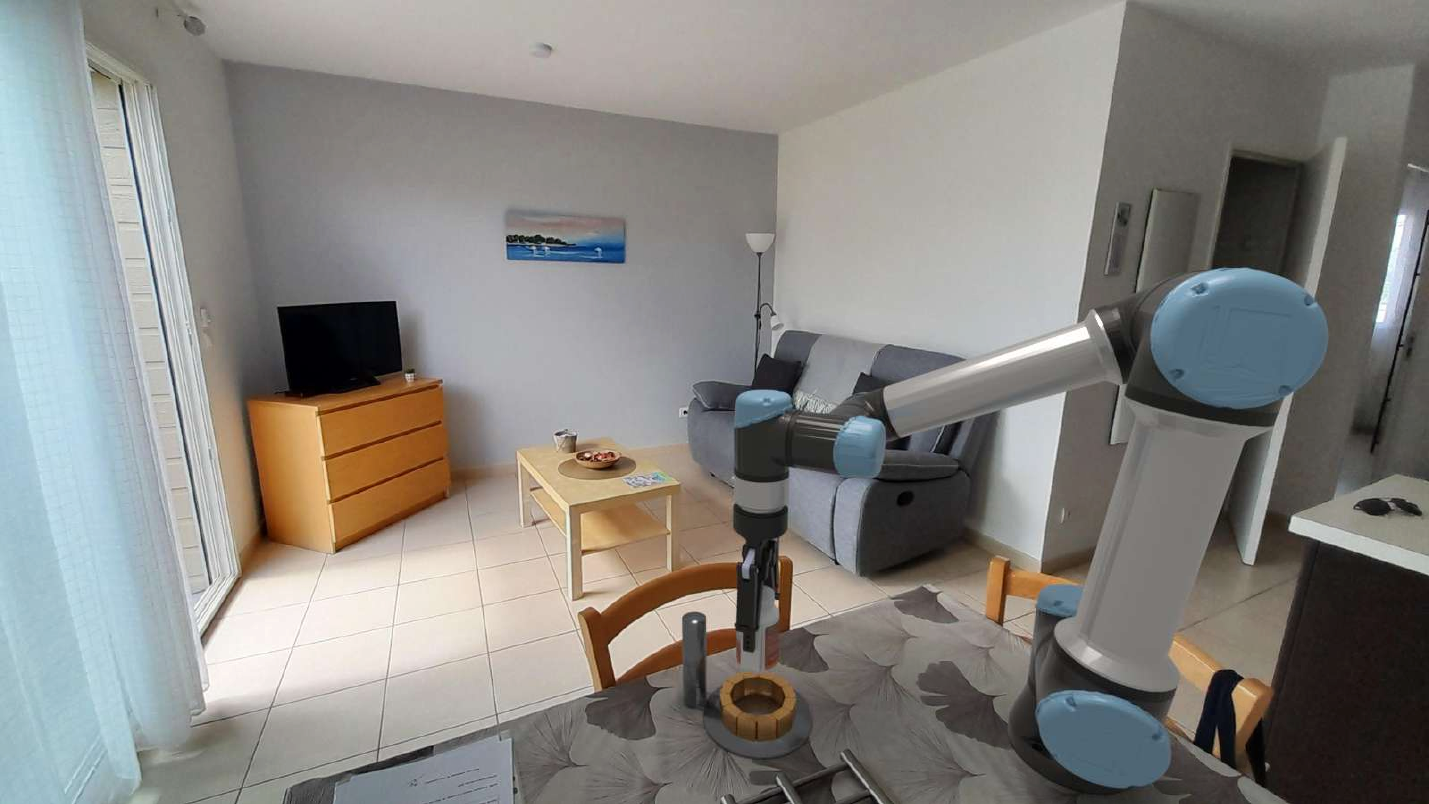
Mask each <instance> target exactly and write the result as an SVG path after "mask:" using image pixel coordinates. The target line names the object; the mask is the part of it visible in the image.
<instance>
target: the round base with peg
mask: <svg viewBox="0 0 1429 804" xmlns="http://www.w3.org/2000/svg"><path fill="white" fill-rule="evenodd" d="M681 622H682V623H681V624H682V625H681V626H682V627H681V628H682V629H681V634H682V638H681V639H682V641H681V642H682V697H683V699H682V702H683V704H684V705H685V707H687V708H689V709H693V710H695V709H696V710H700V711H703V714H702V715H703V724H704V728H705V731H706V732H707V734H708V735H709V737H710V738H711V739H712V740H713V742H714V743H715V744H716V745H717V746H719V747H720V748H722V749H723V750H725V751H726V752H728V753H731V754H733V755H735V756H737V757H742V758H744V759H745V758H746V759H751V760H752V759H753V760H771V759H776V758H777V759H778V758H781V757H783V756H787V755H789V754H791V753H793V752H795V751H796V750H798V749H800V747H802V746H803V745H804V744H805V742H806V741H807V739H808V738H809V736H810V734H811V731H812V727H813V715H812V711H811V708H810V706H809V704H808V701H806V699H805V698H804V696H803V695H802V694H801V693H800V692H798V691H797V690H796V689H795V688H793V686H792V685H791V683H789V682H788V681H787V680H785V679H784V678H782V677H781V676H780V675H777V674H776V673H772V672H767V673H763V674H753V673H749V672H747V671H741V672H738V673H736V674H734V675H733V676H731V677H729V678H727V679H726V681H724V683H723V684H722V685H721V686H719V687H717V688H716V689H715V690H714V691H713V692H712V693H711V692H707V687H708V686H707V675H708V674H707V672H708V671H707V616H706V614H704V613H703V612H701V611H689V612H686V613H684V614H683V615H682V617H681Z"/></svg>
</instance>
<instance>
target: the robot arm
mask: <svg viewBox="0 0 1429 804" xmlns="http://www.w3.org/2000/svg"><path fill="white" fill-rule="evenodd" d="M1086 315H1087V316H1086V317H1085V319H1084V320H1083V321H1080V322H1078V323H1073V324H1071V325H1068V326H1065V327H1063V328H1060V329H1056V330H1052V331H1051V332H1048V333H1044V334H1041V335H1039V336H1035V337H1032V338H1029V339H1027V340H1024V341H1019V342H1017V343H1013V344H1010V345H1008V346H1005V347H1002V348H999V349H996V350H993V351H990V352H987V353H983V354H981V355H978V356H974V357H971V358H969V359H966V360H963V361H959V362H956V363H954V364H951V365H947V366H944V367H941V368H938V369H935V370H932V371H928V372H927V373H923V374H920V375H917V376H913V377H911V378H908V379H905V380H901V381H899V382H895V383H893V384H889V385H886V386H885V387H881V388H879V389H875V390H873V391H869V392H865V391H864V392H858V393H855V394H853V395H851V396H848V397H846V398H845V399H844V400H842V401H841V402H840V404H838V405H837V406H836V407H835V408H832V410H831V411H829V412H828V413H827V412H826V413H825V412H813V411H804V410H798V409H794V408H793V407H794V406H793V404H792V397H791V396H790V394H788V393H787V392H785V391H779V390H776V389H752V390H747V391H744V392H742V393H740V394H739V395H737V397H736V399H735V405H734V417H733V418H734V421H733V425H732V429H733V462H734V463H733V465H734V466H733V476H731V478H730V479H729V480H730V483H731V484H733V501H734V504H733V506H732V513H733V514H732V527H733V530H734V531H735V533H736V534H738V535H739V536H741V537H742V538H743V539H744V541H745V543H744V544H743V545H742V550H741V557H742V561H741V562H740V561H738V562H737V563H736V565H735V569H736V577H737V578H736V579H737V585H736V606H735V607H736V610H735V611H736V612H735V623H734V626H733V627H734V628H735V632H736V631H738V632H741V667H740V666H739V667H740V668H741V669H742V668H745V669H749V670H753V671H757V672H759V671H760V669H761V628H762V627H761V626H759V622H760V613H761V603H762V593H763V585H765V586H768V587H770V588H771V589H773V591H774V593H775V601H780V599H781V592H776V590H778V589H779V585H780V584H779V582H780V581H779V579H780V578H779V575H780V574H779V572H780V571H779V568H780V567H779V563H780V562H779V559H780V558H779V557H780V556H779V555H780V553H779V552H780V548H779V547H780V544H779V543H780V538H781V537H783V536H784V535H785V534H786V533H787V531H788V522H789V521H788V520H789V507H788V505H787V504H788V503H789V502H790V495H789V494H790V468H792V469H798V470H799V469H800V470H805V471H810V472H817V473H824V474H828V475H829V474H831V475H836V476H841V477H844V478H849V479H852V478H855V479H856V478H858V479H859V478H860V479H874V478H875V477H877V476H879V474H880V472H881V470H882V468H883V467H882V466H883V464H884V460H885V454H886V445H887V443H888V442H892V441H895V440H898V439H902V438H904V437H908V436H912V435H916V434H918V433H923V432H925V431H929V430H933V429H936V428H940V427H943V426H948V425H951V424H955V423H958V422H961V421H965V420H969V419H972V418H976V417H980V416H983V415H987V414H991V413H993V412H998V411H1002V410H1005V409H1008V408H1012V407H1016V406H1019V405H1023V404H1027V403H1029V402H1030V403H1031V402H1033V401H1037V400H1041V399H1044V398H1049V397H1052V396H1054V395H1055V396H1056V395H1059V394H1062V393H1065V392H1069V391H1073V390H1075V389H1076V390H1077V389H1080V388H1085V387H1087V386H1092V385H1095V384H1097V383H1101V382H1109V383H1112V384H1114V385H1117V386H1123V385H1126V388H1125V391H1124V395H1123V400H1124V401H1125V403H1127V405H1128V406H1129V408H1130V409H1131V411H1132V412H1133V413H1134V416H1135V420H1134V423H1133V426H1132V430H1131V433H1130V437H1129V439H1128V443H1127V447H1126V450H1125V452H1124V456H1123V458H1122V461H1121V465H1120V469H1119V473H1118V476H1117V478H1116V482H1115V485H1114V488H1113V491H1112V495H1111V498H1110V502H1109V505H1108V508H1107V512H1106V514H1105V517H1104V518H1105V519H1104V521H1103V524H1102V527H1101V531H1100V534H1099V538H1098V541H1097V545H1096V548H1095V551H1094V555H1093V558H1092V561H1091V563H1090V567H1089V570H1088V573H1087V577H1086V580H1085V583H1084V586H1083V585H1079V584H1069V583H1058V584H1057V583H1056V584H1049V585H1046V586H1044V587H1043V588H1042V589H1041V590H1040V591H1039V592H1038V595H1037V600H1036V603H1035V604H1034V608H1035V609H1036V610H1035V617H1034V626H1033V632H1032V633H1033V634H1032V640H1031V641H1032V642H1031V649H1030V650H1031V651H1030V659H1029V666H1028V674H1027V675H1028V676H1027V682H1026V684H1025V685H1024V687H1023V688H1022V690H1021V692H1020V693H1019V695H1018V697H1017V699H1016V700H1015V702H1014V704H1013V705H1012V707H1011V709H1010V711H1009V714H1008V723H1007V736H1008V739H1009V742H1010V743H1011V746H1012V747H1013V749H1014V750H1015V751H1016V753H1017V754H1018V755H1019V757H1020V758H1022V760H1023V761H1025V763H1026V764H1028V765H1029V766H1030V767H1031V768H1033V769H1034V770H1036V771H1037V772H1038V773H1040V774H1041V775H1042V776H1044V777H1046V778H1048V779H1049V780H1051V781H1053V782H1055V783H1056V784H1057V783H1058V784H1059V785H1062V786H1064V787H1067V788H1069V789H1073V790H1077V791H1080V792H1083V793H1089V794H1094V795H1095V794H1096V795H1110V794H1116V793H1120V792H1122V791H1125V790H1126V789H1128V788H1129V787H1138V788H1139V787H1141V788H1142V787H1145V786H1148V785H1150V784H1153V783H1155V782H1156V781H1158V780H1159V779H1160V778H1162V776H1164V774H1166V772H1167V770H1168V769H1169V767H1170V764H1171V760H1172V759H1171V758H1172V751H1171V750H1172V749H1171V747H1172V741H1171V737H1170V735H1169V733H1168V730H1167V729H1166V721H1167V717H1168V714H1169V711H1170V709H1171V706H1172V703H1173V701H1174V698H1175V695H1176V692H1177V689H1178V686H1179V684H1180V682H1181V674H1180V671H1179V668H1178V667H1177V665H1176V664H1175V663H1174V661H1173V660H1172V659H1171V657H1170V655H1169V654H1170V651H1171V649H1172V646H1173V643H1174V640H1175V637H1176V635H1177V633H1178V630H1179V626H1180V623H1181V621H1182V618H1183V616H1184V611H1186V606H1187V604H1188V602H1189V600H1190V599H1189V598H1190V595H1191V593H1192V590H1193V588H1194V585H1195V581H1196V579H1197V577H1198V574H1199V570H1200V567H1201V564H1202V563H1203V560H1204V557H1205V554H1206V551H1207V548H1208V546H1209V542H1210V541H1211V537H1212V534H1213V533H1214V529H1215V526H1216V524H1217V520H1218V518H1219V515H1220V511H1221V510H1222V507H1223V504H1224V501H1225V499H1226V495H1227V492H1228V490H1229V487H1230V484H1231V482H1232V478H1233V475H1234V472H1235V470H1236V467H1237V466H1238V465H1237V464H1238V463H1239V462H1238V461H1239V459H1240V456H1241V454H1242V451H1243V448H1244V445H1245V443H1246V441H1247V440H1249V439H1252V438H1254V437H1257V436H1260V435H1261V434H1264V433H1266V432H1268V431H1271V430H1273V428H1274V426H1275V424H1276V422H1277V418H1278V417H1279V414H1280V411H1281V408H1282V405H1283V402H1284V400H1285V398H1286V397H1287V396H1289V395H1291V394H1292V393H1294V392H1295V391H1297V390H1299V389H1300V388H1302V387H1303V386H1304V385H1305V384H1306V383H1308V381H1309V380H1311V378H1312V377H1314V375H1315V374H1316V373H1317V371H1318V370H1319V368H1320V367H1321V365H1322V363H1323V362H1324V361H1323V360H1324V359H1325V356H1326V353H1327V349H1328V345H1329V335H1330V334H1329V328H1328V327H1329V326H1328V322H1327V318H1326V315H1325V314H1324V312H1323V309H1322V308H1321V306H1320V305H1319V303H1318V302H1317V300H1316V299H1315V298H1314V297H1313V296H1312V295H1311V294H1310V293H1309V292H1308V291H1307V290H1306V289H1304V288H1303V287H1302V286H1301V285H1299V284H1297V283H1295V282H1294V281H1292V280H1290V279H1288V278H1286V277H1283V276H1280V275H1277V274H1273V273H1270V272H1268V271H1266V270H1265V271H1264V270H1260V269H1259V270H1258V269H1252V268H1249V267H1241V268H1240V267H1239V268H1238V267H1235V268H1234V267H1233V268H1231V267H1230V268H1228V267H1222V268H1221V267H1220V268H1217V269H1211V270H1210V269H1205V270H1203V269H1202V270H1192V271H1187V272H1183V273H1182V272H1181V273H1179V274H1178V273H1177V274H1174V275H1172V276H1170V277H1167V278H1165V279H1163V280H1161V281H1159V282H1156V283H1154V284H1152V285H1150V286H1147V287H1146V288H1144V289H1142V290H1139V291H1137V292H1135V293H1132V294H1130V295H1128V296H1125V297H1122V298H1120V299H1118V300H1116V301H1115V300H1114V301H1113V302H1110V303H1108V304H1105V305H1102V306H1099V307H1096V308H1093V309H1091V310H1089V312H1088V313H1087V314H1086Z"/></svg>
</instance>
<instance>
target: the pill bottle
mask: <svg viewBox="0 0 1429 804" xmlns="http://www.w3.org/2000/svg"><path fill="white" fill-rule="evenodd" d="M775 602H776V600H775V593H774V591H773V589H771V588H770V587H768V586H765V585H763V593H762V603H761V613H760V622H759V626H761V627H762V628H761V669H760V671H759V672H757V671H753V670H749V669H745V668H741V669H742V670H743V671H744V672H749V673H753V674H763V673H767V672H768V673H771V672H772V671H773V670H774V669H775V668H776V667H777V666H778V664H779V658H780V657H779V656H780V610H779V608H778V606H777V605H776V603H775ZM735 636H736V637H735V638H736V639H735V642H736V643H735V646H736V647H735V651H736V652H735V655H736V656H735V658H736V659H735V660H736V663H737V665H738V667H741V632H738V631H736V630H735Z"/></svg>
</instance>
